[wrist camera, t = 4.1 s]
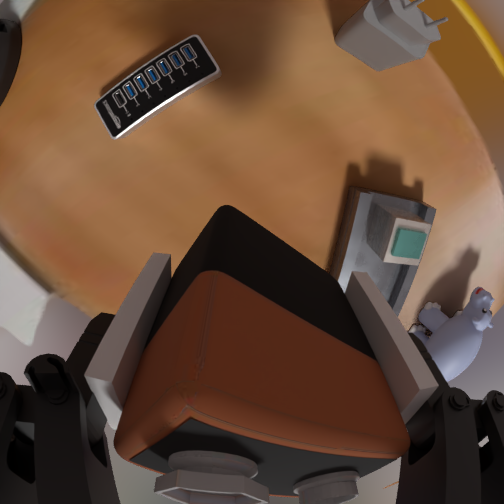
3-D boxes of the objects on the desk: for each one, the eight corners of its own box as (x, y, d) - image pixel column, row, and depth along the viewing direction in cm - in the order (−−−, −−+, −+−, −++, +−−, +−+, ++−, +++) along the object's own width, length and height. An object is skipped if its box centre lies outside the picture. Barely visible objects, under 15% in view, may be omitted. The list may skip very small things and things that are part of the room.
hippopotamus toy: (485, 282, 30) (522, 318, 22) (434, 358, 36) (458, 399, 28) (447, 264, 29) (491, 306, 20) (390, 353, 35) (414, 403, 26)
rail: (349, 185, 25) (375, 201, 19) (422, 201, 25) (455, 220, 20) (307, 346, 33) (315, 382, 28) (369, 346, 34) (384, 378, 28)
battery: (224, 196, 11) (167, 448, 2) (341, 279, 13) (429, 472, 4) (172, 272, 13) (98, 484, 4) (284, 335, 15) (311, 520, 6)
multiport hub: (224, 76, 21) (221, 71, 19) (123, 139, 23) (112, 141, 21) (201, 39, 19) (196, 32, 17) (103, 104, 21) (92, 104, 19)
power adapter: (344, 21, 18) (404, -32, 7) (392, 52, 19) (471, 25, 8) (331, 42, 19) (391, -7, 8) (380, 74, 20) (462, 53, 9)
